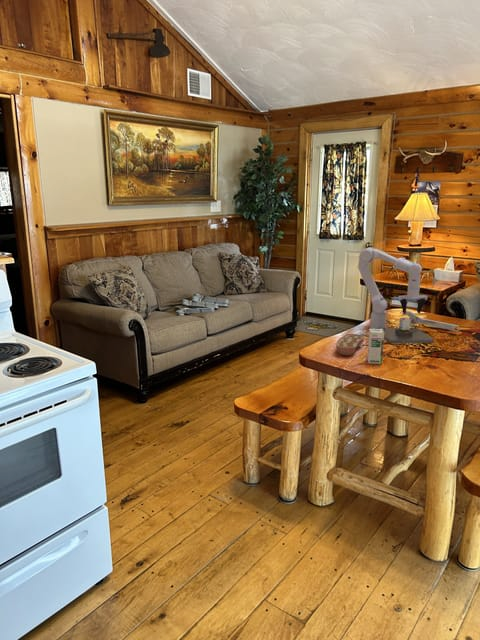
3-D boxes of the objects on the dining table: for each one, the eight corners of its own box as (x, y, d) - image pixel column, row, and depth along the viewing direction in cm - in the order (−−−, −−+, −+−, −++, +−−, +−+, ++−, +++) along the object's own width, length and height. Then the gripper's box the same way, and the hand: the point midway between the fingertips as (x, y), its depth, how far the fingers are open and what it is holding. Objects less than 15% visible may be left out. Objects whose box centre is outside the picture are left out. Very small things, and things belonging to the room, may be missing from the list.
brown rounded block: (353, 359, 216) (353, 349, 215) (331, 356, 220) (331, 345, 219) (365, 345, 236) (365, 335, 234) (345, 342, 240) (345, 332, 239)
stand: (375, 330, 259) (375, 324, 258) (415, 330, 260) (416, 323, 259) (390, 343, 238) (390, 336, 237) (434, 342, 239) (434, 335, 238)
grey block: (398, 327, 250) (399, 317, 248) (406, 327, 250) (407, 317, 249) (401, 330, 246) (402, 319, 244) (409, 330, 246) (410, 319, 245)
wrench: (457, 336, 258) (399, 324, 269) (457, 335, 260) (400, 323, 271) (461, 322, 256) (402, 310, 267) (461, 321, 258) (403, 309, 268)
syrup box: (368, 363, 210) (370, 331, 206) (367, 359, 216) (369, 327, 212) (382, 364, 210) (384, 332, 206) (380, 359, 215) (382, 328, 211)
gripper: (402, 289, 245) (400, 315, 249) (430, 288, 246) (428, 314, 250) (397, 286, 252) (395, 311, 256) (425, 286, 253) (422, 311, 257)
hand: (411, 313), depth 253 cm, fingers open, 7 cm apart
